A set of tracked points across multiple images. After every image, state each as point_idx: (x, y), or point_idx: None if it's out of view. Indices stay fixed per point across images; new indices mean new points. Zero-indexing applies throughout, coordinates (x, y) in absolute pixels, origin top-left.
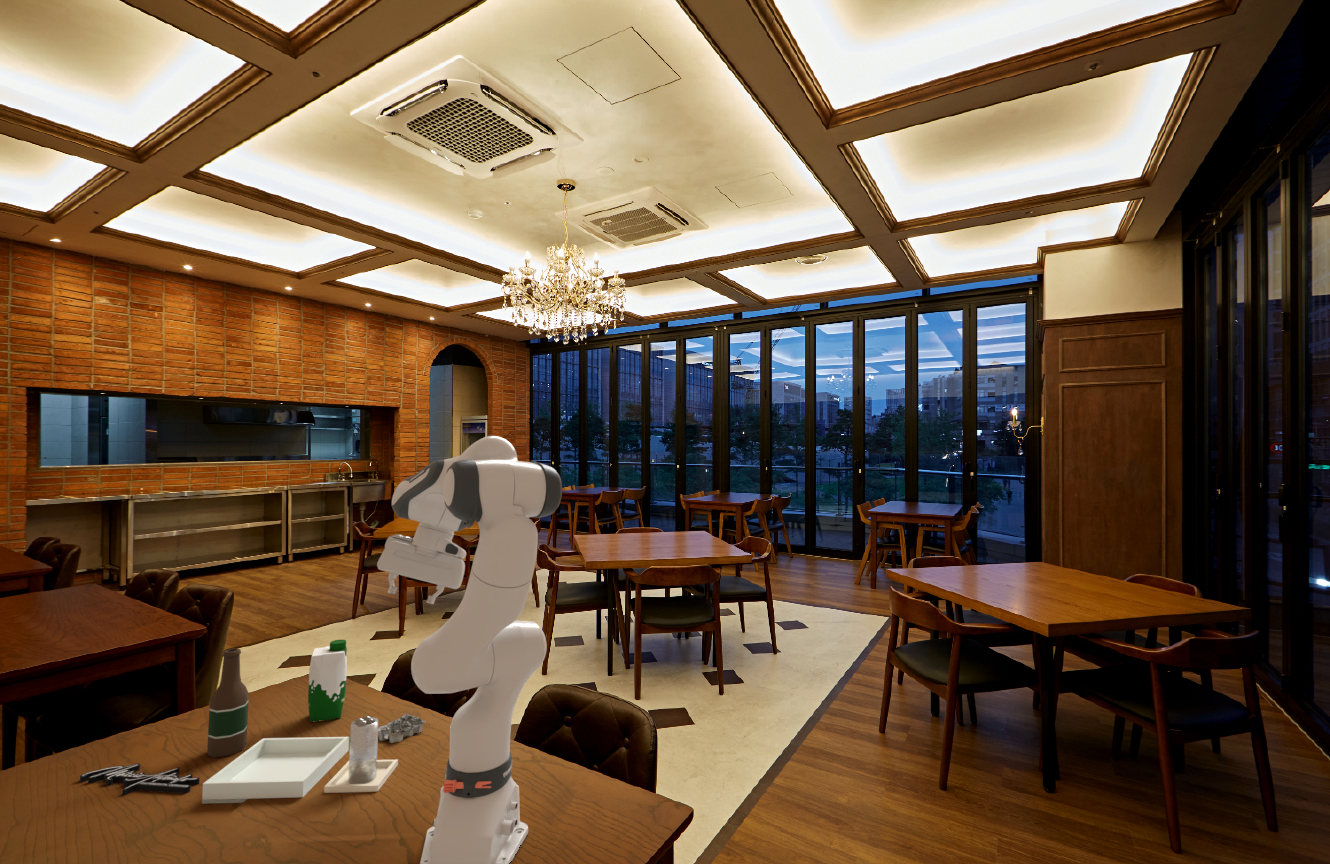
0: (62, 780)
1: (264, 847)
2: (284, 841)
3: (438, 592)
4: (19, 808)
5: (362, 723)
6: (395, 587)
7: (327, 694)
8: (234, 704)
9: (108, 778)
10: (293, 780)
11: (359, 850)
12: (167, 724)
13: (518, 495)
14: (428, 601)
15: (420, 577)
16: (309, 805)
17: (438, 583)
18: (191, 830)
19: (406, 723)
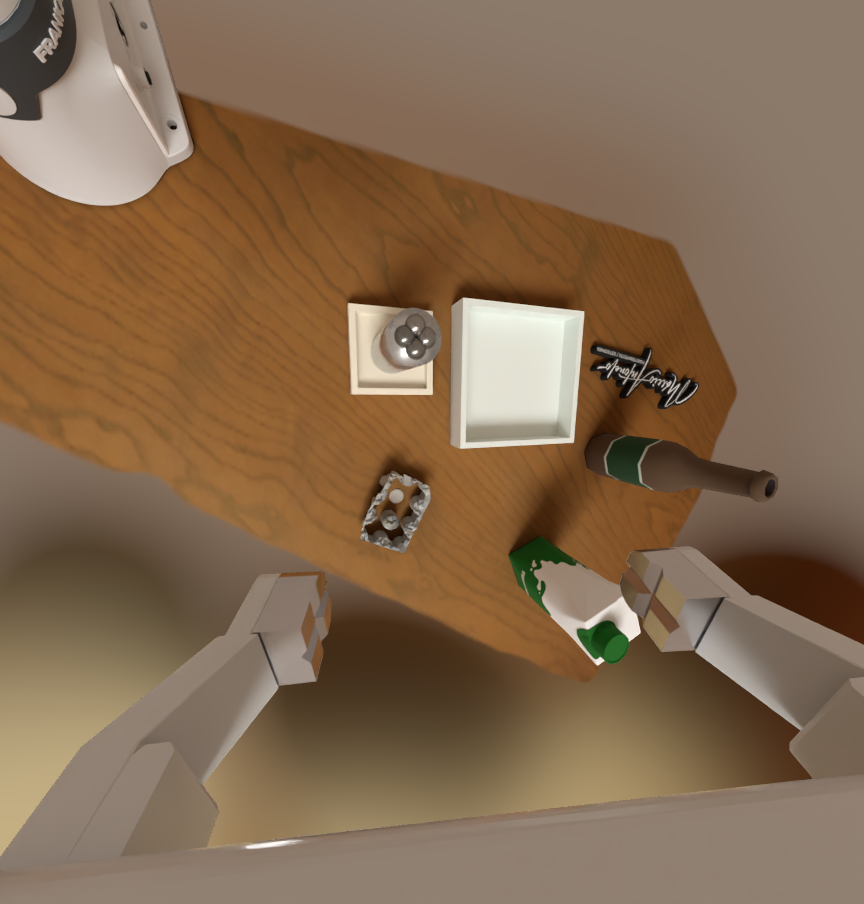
0: (705, 386)
1: (444, 186)
2: (426, 195)
3: (149, 698)
4: (708, 332)
5: (413, 315)
6: (681, 593)
7: (549, 561)
8: (652, 451)
9: (674, 376)
10: (478, 303)
11: (302, 136)
12: (681, 515)
13: None
14: (300, 575)
15: (513, 885)
16: (436, 291)
17: (32, 894)
18: (546, 252)
19: (390, 521)
